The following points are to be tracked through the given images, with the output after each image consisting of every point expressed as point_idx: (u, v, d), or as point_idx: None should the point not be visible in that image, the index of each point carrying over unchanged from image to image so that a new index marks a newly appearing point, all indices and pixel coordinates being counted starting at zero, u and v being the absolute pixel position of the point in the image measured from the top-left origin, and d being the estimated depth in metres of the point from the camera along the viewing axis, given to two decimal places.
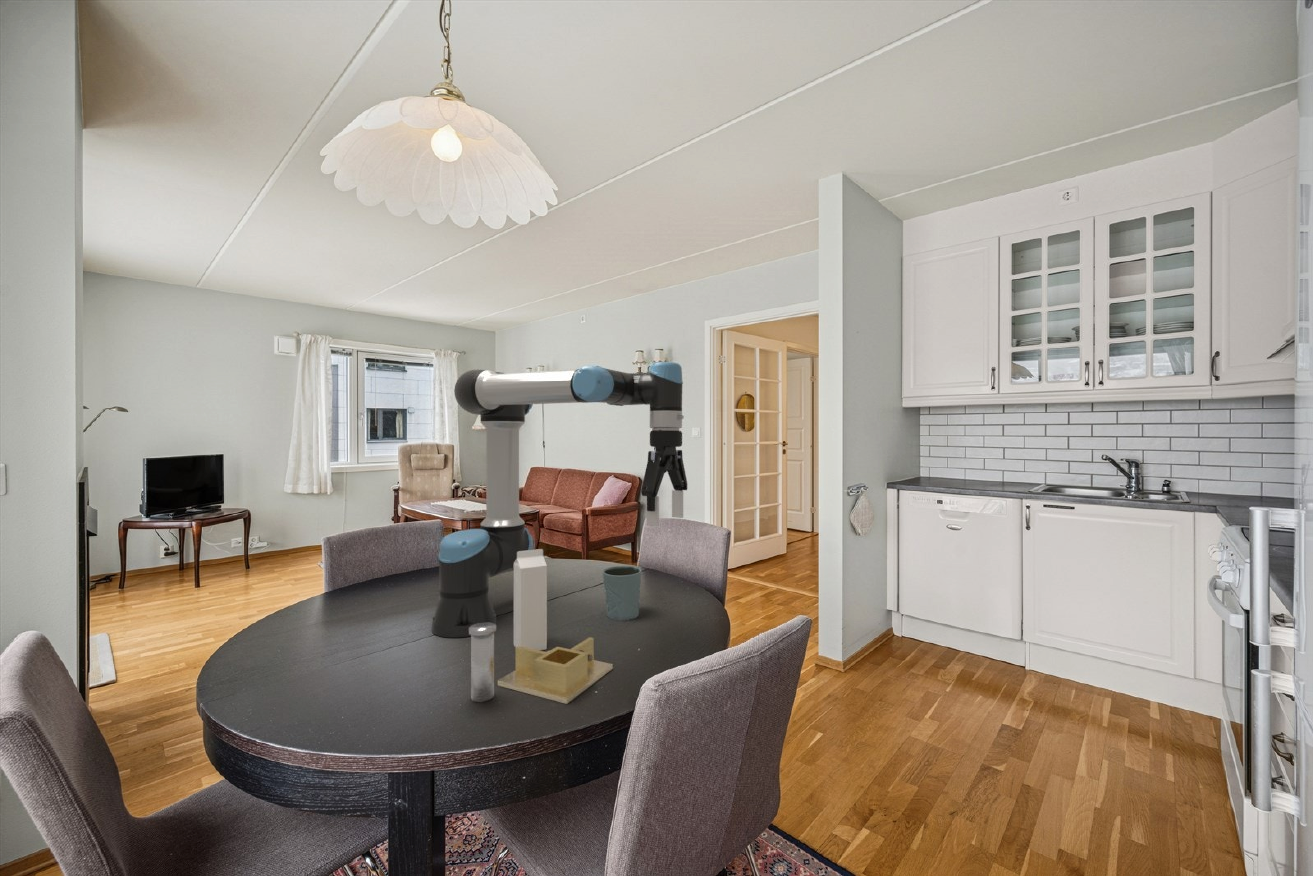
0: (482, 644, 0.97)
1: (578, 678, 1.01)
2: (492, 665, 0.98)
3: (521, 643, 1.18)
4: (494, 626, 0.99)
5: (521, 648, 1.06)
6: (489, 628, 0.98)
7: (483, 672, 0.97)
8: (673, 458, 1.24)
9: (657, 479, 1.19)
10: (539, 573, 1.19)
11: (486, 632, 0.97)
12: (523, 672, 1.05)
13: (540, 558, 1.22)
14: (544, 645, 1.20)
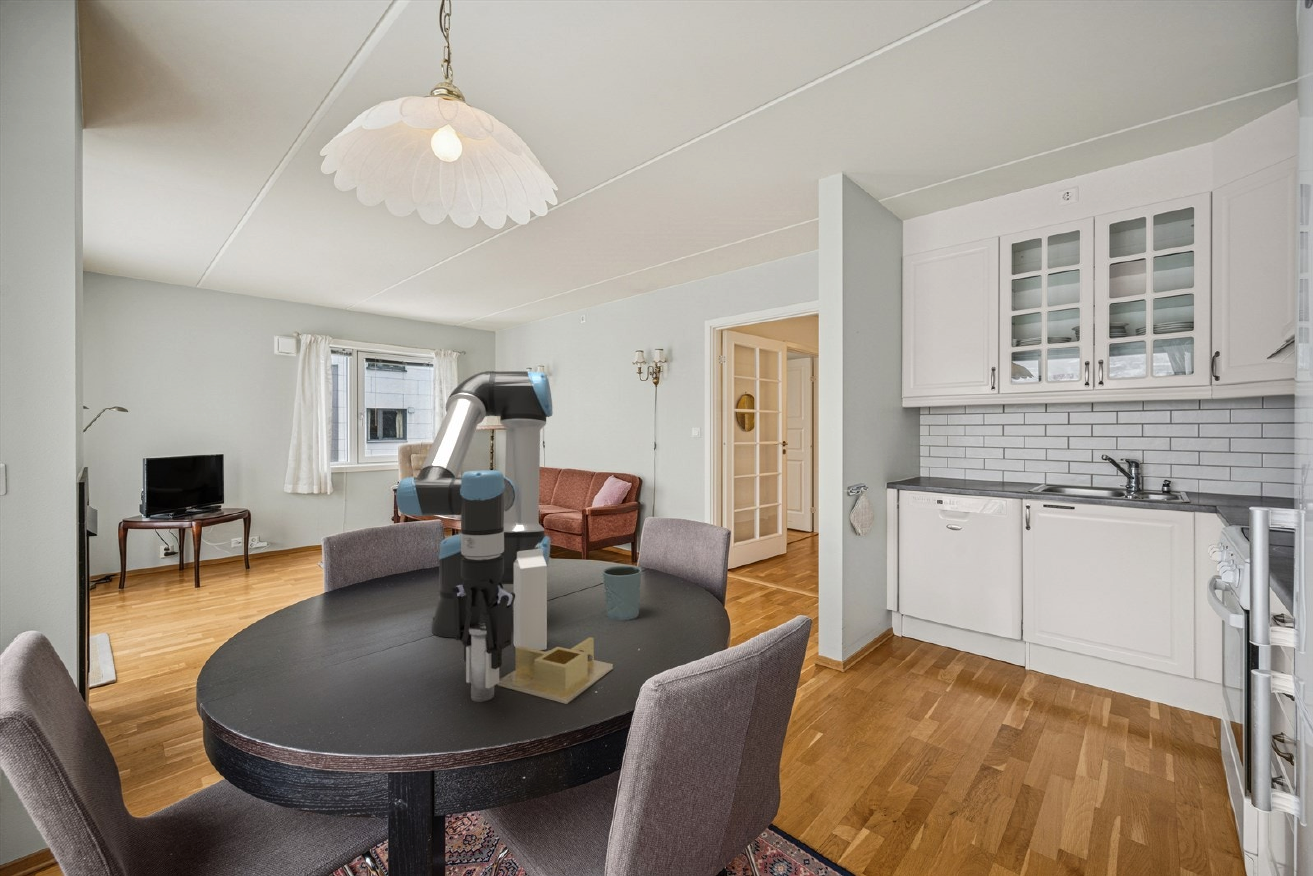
0: (482, 644, 0.97)
1: (578, 678, 1.01)
2: None
3: (521, 643, 1.18)
4: None
5: (521, 648, 1.06)
6: None
7: (483, 672, 0.97)
8: None
9: None
10: (539, 573, 1.19)
11: (486, 632, 0.97)
12: (523, 672, 1.05)
13: (540, 558, 1.22)
14: (544, 645, 1.20)
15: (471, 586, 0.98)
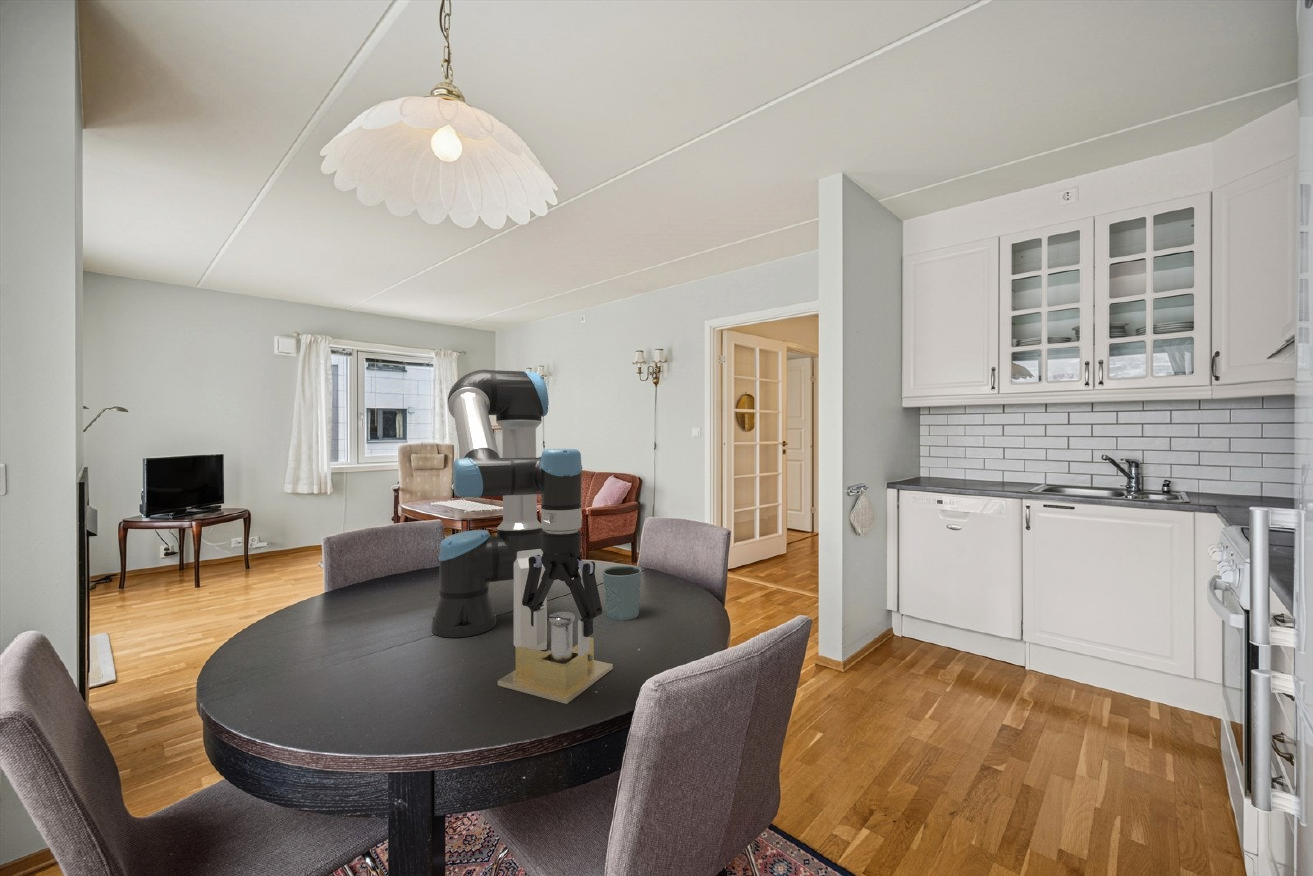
0: (563, 632, 1.00)
1: (578, 678, 1.01)
2: (571, 653, 1.01)
3: (521, 643, 1.18)
4: (573, 615, 1.02)
5: (521, 648, 1.06)
6: (569, 617, 1.01)
7: (563, 660, 1.00)
8: None
9: None
10: None
11: (567, 621, 1.00)
12: (523, 672, 1.05)
13: None
14: (544, 645, 1.20)
15: None
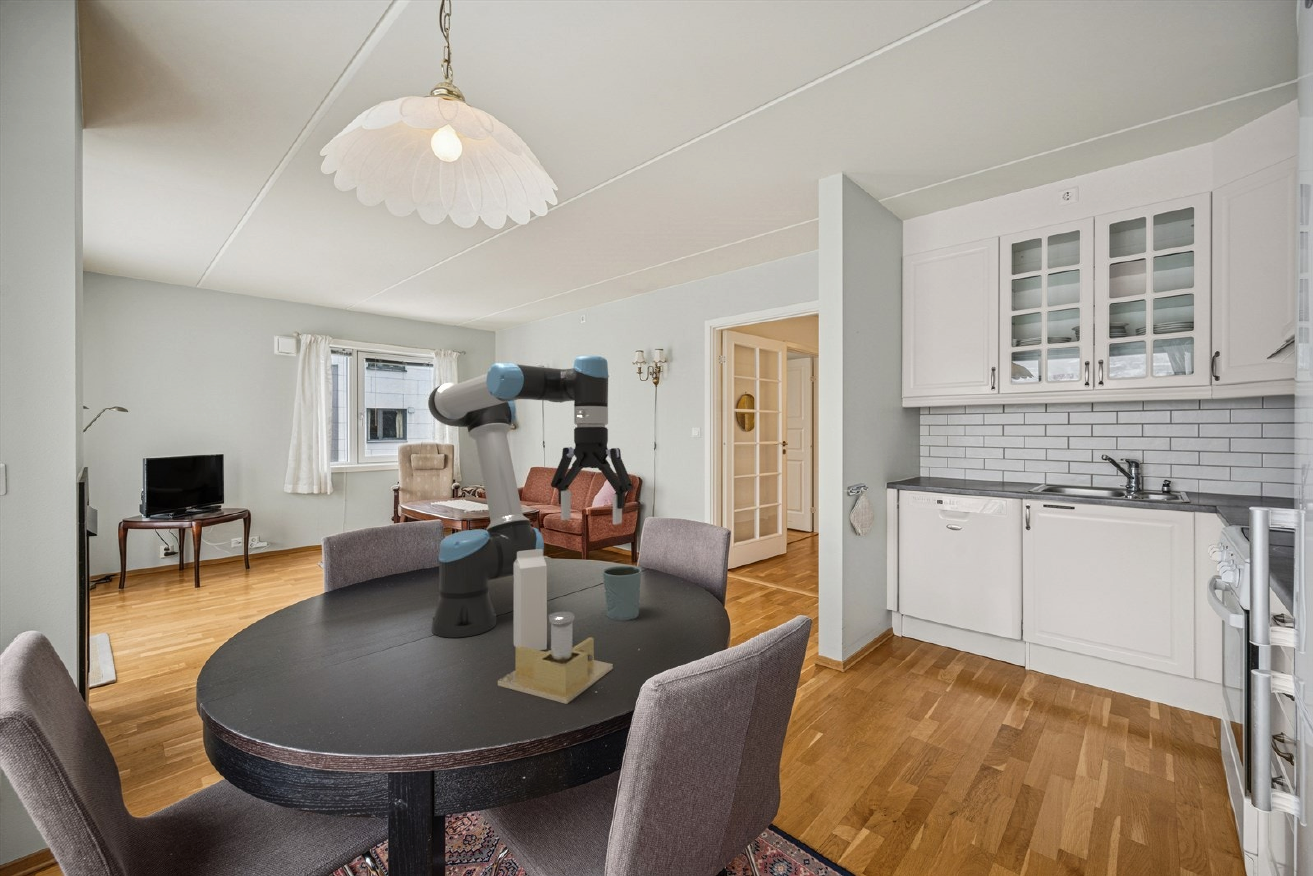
0: (562, 632, 1.00)
1: (578, 678, 1.01)
2: (571, 653, 1.01)
3: (521, 643, 1.18)
4: (573, 615, 1.02)
5: (521, 648, 1.06)
6: (568, 617, 1.01)
7: (563, 660, 1.00)
8: None
9: None
10: (539, 573, 1.19)
11: (566, 620, 1.00)
12: (523, 672, 1.05)
13: (540, 558, 1.22)
14: (544, 645, 1.20)
15: None
